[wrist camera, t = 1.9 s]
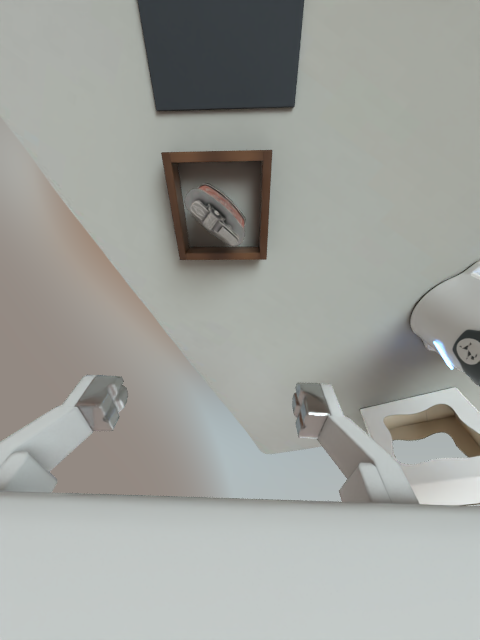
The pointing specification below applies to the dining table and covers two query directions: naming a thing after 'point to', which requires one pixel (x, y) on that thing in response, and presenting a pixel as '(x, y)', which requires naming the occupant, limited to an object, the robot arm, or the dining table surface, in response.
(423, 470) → the gable box
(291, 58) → the mat
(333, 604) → the robot arm
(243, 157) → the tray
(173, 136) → the dining table surface
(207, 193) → the lighter
